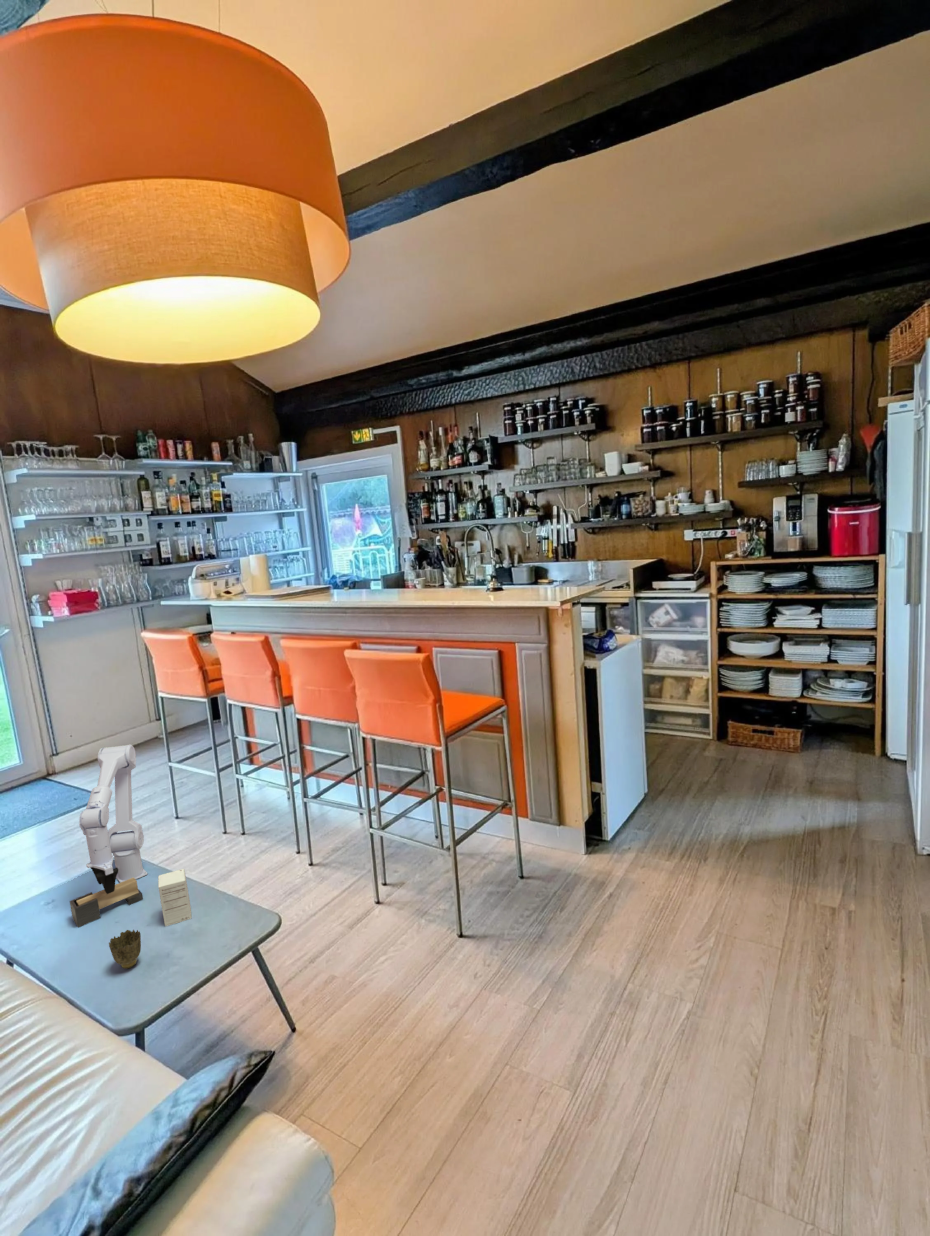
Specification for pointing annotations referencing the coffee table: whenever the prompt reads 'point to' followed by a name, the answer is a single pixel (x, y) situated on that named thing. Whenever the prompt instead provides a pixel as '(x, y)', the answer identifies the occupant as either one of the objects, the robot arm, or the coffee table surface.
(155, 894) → the coffee table surface
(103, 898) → the rail
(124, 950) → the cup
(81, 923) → the dark grey open box
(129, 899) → the rest block
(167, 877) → the supplement box
